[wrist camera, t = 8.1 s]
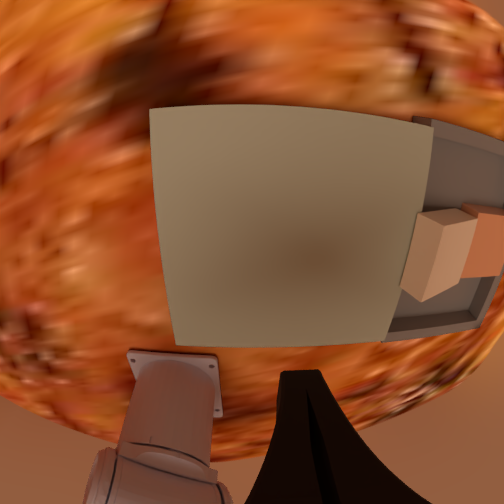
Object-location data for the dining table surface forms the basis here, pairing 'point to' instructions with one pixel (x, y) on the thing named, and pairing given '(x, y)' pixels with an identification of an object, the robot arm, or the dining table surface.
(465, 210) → the terracotta tile
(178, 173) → the beige square slab
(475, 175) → the box
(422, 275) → the cream tile
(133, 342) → the dining table surface
